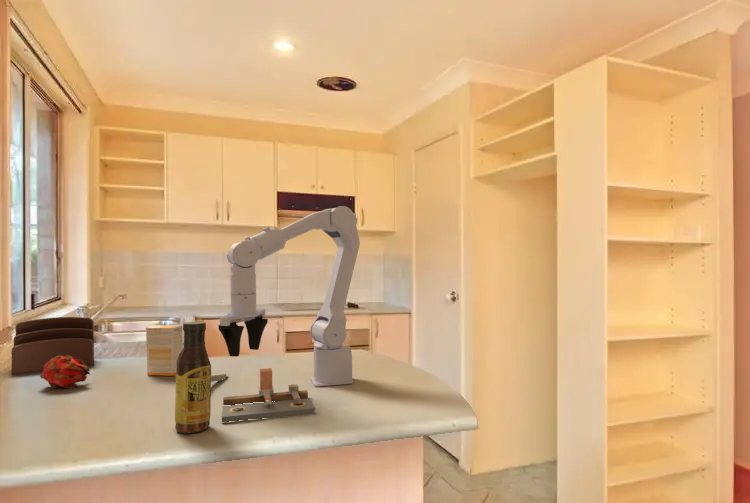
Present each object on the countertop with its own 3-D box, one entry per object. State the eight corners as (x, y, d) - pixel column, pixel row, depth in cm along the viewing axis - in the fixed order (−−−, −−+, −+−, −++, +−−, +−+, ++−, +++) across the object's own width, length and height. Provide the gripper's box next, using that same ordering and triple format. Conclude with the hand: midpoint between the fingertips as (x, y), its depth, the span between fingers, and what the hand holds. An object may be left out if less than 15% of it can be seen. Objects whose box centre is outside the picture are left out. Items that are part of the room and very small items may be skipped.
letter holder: (16, 367, 145) (15, 319, 145) (94, 360, 155) (93, 314, 155) (11, 375, 136) (10, 323, 136) (94, 366, 146) (93, 318, 146)
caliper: (188, 401, 111) (188, 373, 111) (183, 401, 111) (183, 373, 111) (228, 378, 131) (228, 354, 131) (224, 378, 131) (224, 354, 131)
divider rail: (306, 396, 112) (306, 383, 112) (312, 409, 103) (312, 395, 103) (223, 404, 108) (223, 390, 108) (222, 418, 98) (222, 403, 98)
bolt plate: (310, 403, 107) (309, 397, 107) (314, 414, 100) (314, 407, 100) (222, 411, 102) (222, 405, 102) (221, 423, 96) (221, 416, 96)
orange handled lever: (272, 392, 111) (272, 367, 111) (276, 405, 101) (275, 378, 101) (258, 393, 110) (258, 368, 110) (261, 407, 100) (260, 380, 100)
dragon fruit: (44, 391, 125) (87, 399, 123) (23, 378, 118) (68, 387, 116) (62, 359, 130) (104, 367, 128) (44, 346, 123) (87, 354, 121)
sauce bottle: (189, 437, 88) (188, 326, 88) (167, 431, 92) (166, 323, 92) (218, 426, 94) (217, 321, 94) (197, 420, 97) (196, 319, 97)
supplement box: (184, 372, 137) (183, 324, 137) (174, 376, 132) (173, 327, 132) (157, 371, 138) (156, 324, 138) (146, 375, 133) (145, 326, 133)
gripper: (247, 290, 123) (248, 345, 123) (208, 296, 109) (209, 358, 109) (272, 291, 120) (273, 347, 120) (234, 297, 107) (235, 360, 107)
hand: (244, 352), depth 115 cm, fingers open, 7 cm apart
